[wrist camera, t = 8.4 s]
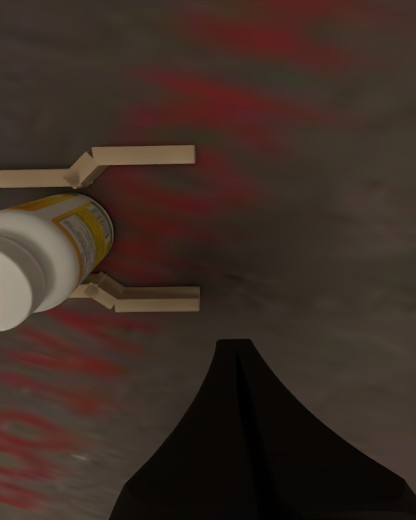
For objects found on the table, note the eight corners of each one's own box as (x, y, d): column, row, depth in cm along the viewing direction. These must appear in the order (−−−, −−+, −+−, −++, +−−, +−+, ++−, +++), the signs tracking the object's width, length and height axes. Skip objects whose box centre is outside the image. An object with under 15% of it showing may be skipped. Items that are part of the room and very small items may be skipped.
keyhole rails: (200, 298, 22) (199, 311, 20) (3, 300, 22) (-16, 313, 20) (195, 146, 18) (193, 145, 16) (-41, 151, 18) (-69, 150, 17)
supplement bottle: (127, 214, 20) (70, 266, 11) (99, 275, 21) (28, 364, 12) (51, 176, 19) (-82, 198, 10) (28, 243, 20) (-105, 315, 11)
